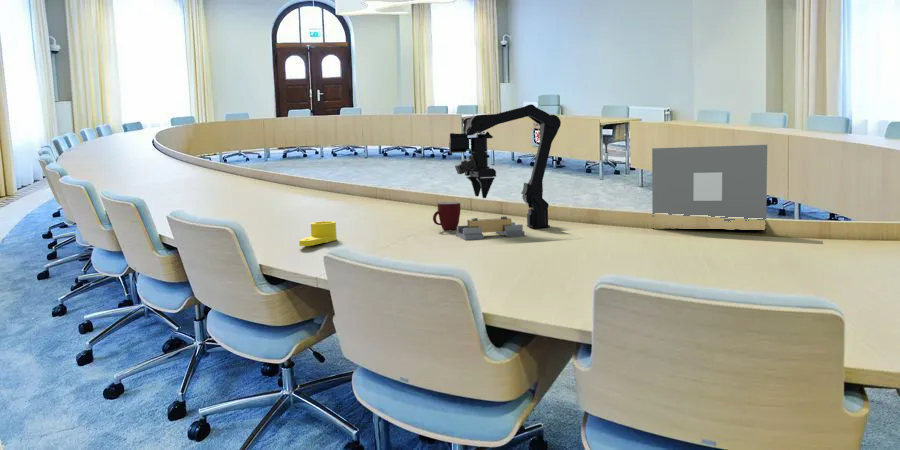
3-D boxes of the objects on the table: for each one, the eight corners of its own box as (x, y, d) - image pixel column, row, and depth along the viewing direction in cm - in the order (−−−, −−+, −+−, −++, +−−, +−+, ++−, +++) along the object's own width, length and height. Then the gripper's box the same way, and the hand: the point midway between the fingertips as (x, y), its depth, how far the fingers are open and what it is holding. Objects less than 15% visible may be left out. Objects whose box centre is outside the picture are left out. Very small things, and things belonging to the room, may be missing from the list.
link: (508, 229, 232) (508, 215, 232) (511, 230, 228) (511, 217, 228) (467, 231, 230) (467, 218, 229) (470, 233, 226) (469, 219, 225)
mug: (442, 233, 239) (441, 205, 237) (428, 232, 245) (427, 204, 244) (465, 230, 245) (464, 202, 244) (451, 229, 251) (450, 201, 250)
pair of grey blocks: (512, 231, 237) (512, 221, 237) (524, 236, 226) (524, 225, 225) (456, 235, 232) (455, 225, 232) (465, 240, 221) (465, 229, 220)
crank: (319, 238, 241) (318, 221, 240) (340, 238, 238) (340, 221, 238) (291, 245, 224) (290, 227, 223) (314, 246, 221) (313, 227, 221)
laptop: (764, 221, 243) (765, 143, 240) (766, 230, 219) (767, 144, 216) (661, 220, 256) (661, 147, 253) (652, 229, 233) (652, 148, 230)
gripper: (450, 153, 246) (451, 196, 248) (463, 153, 228) (465, 200, 230) (480, 151, 248) (481, 195, 250) (495, 151, 230) (497, 198, 232)
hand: (480, 197), depth 240 cm, fingers open, 9 cm apart
